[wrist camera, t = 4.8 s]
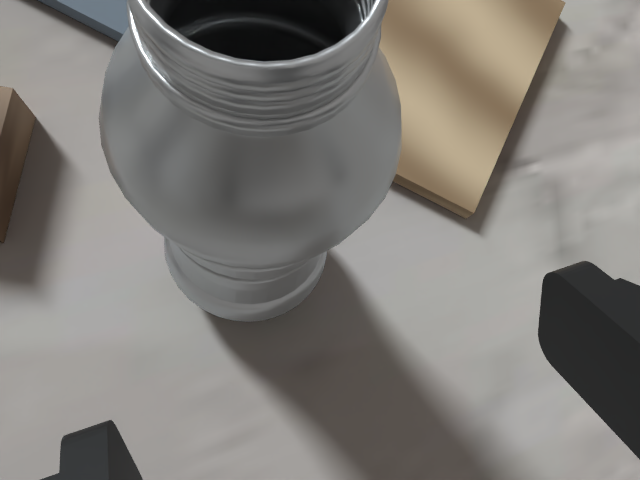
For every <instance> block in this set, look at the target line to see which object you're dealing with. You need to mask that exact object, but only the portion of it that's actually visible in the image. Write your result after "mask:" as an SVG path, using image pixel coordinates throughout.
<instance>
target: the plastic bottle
mask: <svg viewBox="0 0 640 480" xmlns="http://www.w3.org/2000/svg"><path fill="white" fill-rule="evenodd" d="M388 1H389V0H127V6H126V7H127V16H128V25H129V27H128V28H127V30H126V31H125V33H124V34H123V36H122V38H121V39H120V41H119V42H118V44H117V45H116V47H115V48H114V51H113V54H112V56H111V59H110V62H109V65H108V67H107V70H106V73H105V78H104V84H103V89H102V97H101V105H100V112H99V125H100V135H101V145H102V148H103V151H104V154H105V157H106V160H107V163H108V166H109V169H110V172H111V174H112V176H113V178H114V179H115V181H116V183H117V184H118V186H119V188H120V189H121V191H122V193H123V195H124V196H125V198H126V199H127V200H128V201H129V202H130V204H131V205H132V206H133V207H134V208H135V209H136V210H137V211H138V212H139V213H140V214H141V216H142V217H143V218H144V219H145V220H146V221H147V222H148V223H149V224H150V225H151V227H152V228H153V229H154V230H156V231H157V232H158V233H160V234H161V235H162V236H164V250H165V258H166V262H167V265H168V268H169V271H170V274H171V275H172V277H173V279H174V281H175V282H176V284H177V286H178V287H179V289H180V290H181V291H182V292H183V293H184V294H185V295H186V296H187V297H188V298H189V300H191V301H192V302H193V303H195V304H196V305H197V306H199V307H200V308H202V309H203V310H205V311H207V312H209V313H211V314H213V315H216V316H218V317H221V318H225V319H229V320H233V321H246V322H253V321H261V320H267V319H270V318H273V317H276V316H280V315H282V314H284V313H286V312H288V311H289V310H291V309H293V308H295V307H296V306H297V305H298V304H300V303H301V302H302V301H303V300H304V299H305V298H307V297H308V295H309V294H310V293H311V291H312V290H313V289H314V287H315V286H316V285H317V283H318V281H319V278H320V276H321V274H322V272H323V269H324V265H325V261H326V256H327V250H329V249H331V248H333V247H335V246H337V245H338V244H340V243H341V242H342V241H343V240H344V239H346V238H347V237H348V236H349V235H351V234H352V233H353V232H354V231H355V230H356V229H358V228H359V227H360V226H361V225H362V224H363V223H365V222H366V221H367V220H368V219H369V218H370V217H371V215H372V214H373V213H374V211H375V210H376V209H377V208H378V206H379V205H380V204H381V202H382V201H383V200H384V199H385V197H386V194H387V192H388V190H389V188H390V186H391V184H392V181H393V179H394V177H395V175H396V171H397V167H398V162H399V158H400V153H401V149H402V122H401V103H400V98H399V93H398V89H397V84H396V80H395V77H394V75H393V73H392V70H391V68H390V66H389V64H388V61H387V59H386V57H385V55H384V54H383V52H382V51H381V49H380V48H379V44H380V40H381V23H382V20H383V18H384V15H385V12H386V9H387V5H388Z"/></svg>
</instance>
